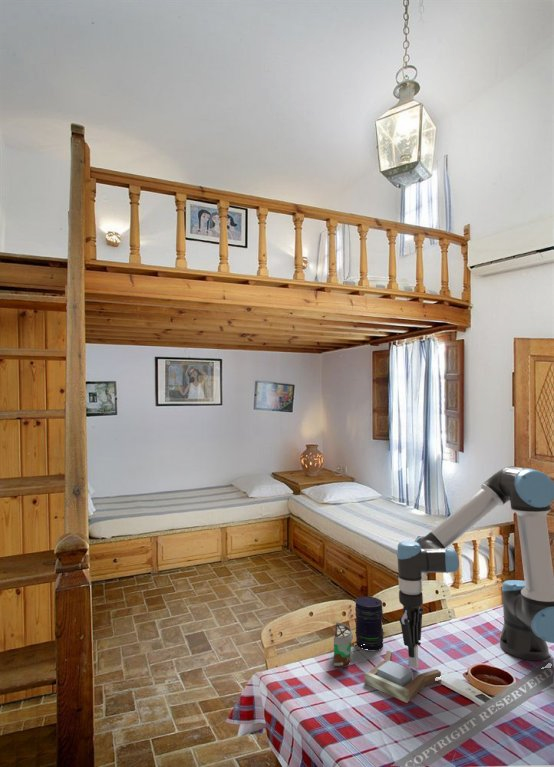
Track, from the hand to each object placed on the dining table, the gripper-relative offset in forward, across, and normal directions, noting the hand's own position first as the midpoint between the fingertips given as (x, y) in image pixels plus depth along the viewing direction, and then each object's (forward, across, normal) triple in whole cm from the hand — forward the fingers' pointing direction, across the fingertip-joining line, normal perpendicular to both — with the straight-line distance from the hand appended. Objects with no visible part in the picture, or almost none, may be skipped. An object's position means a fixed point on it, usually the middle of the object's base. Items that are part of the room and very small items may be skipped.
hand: (413, 666), depth 142 cm
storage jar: (+1, -5, -19) cm, 20 cm away
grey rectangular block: (+1, +12, -1) cm, 12 cm away
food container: (+1, +11, -20) cm, 22 cm away
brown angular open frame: (+1, +8, 0) cm, 8 cm away
